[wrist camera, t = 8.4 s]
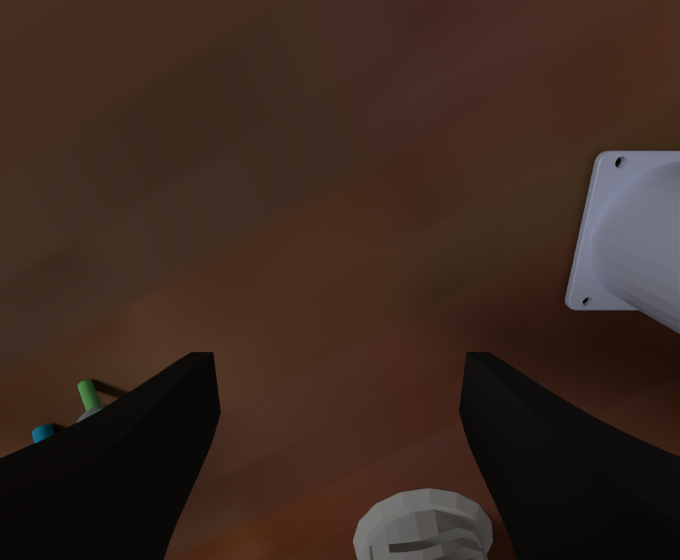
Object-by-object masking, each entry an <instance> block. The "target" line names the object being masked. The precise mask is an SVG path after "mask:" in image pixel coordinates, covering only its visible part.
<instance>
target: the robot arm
mask: <svg viewBox="0 0 680 560" xmlns="http://www.w3.org/2000/svg"><path fill="white" fill-rule="evenodd" d="M619 157H620V159H621V163H620V165H619V166H618V167H616V166H615V162H616V160H617V159H618V158H619ZM587 297H588V300H587V302H585V303H583V300H584V299H585V298H587ZM565 304H566V305H567V306H568V307H569V308H571V309H572V310H639V311H641V312H643V313H645V314H646V315H648V316H650V317H652V318H653V319H655V320H657V321H658V322H660V323H662V324H664V325H665V326H667V327H669V328H671V329H672V330H674V331H676V332H678V333H679V334H680V151H604V152H602V153H601V154H599V155H598V156H597V158H596V160H595V163H594V167H593V172H592V177H591V181H590V186H589V191H588V195H587V200H586V204H585V209H584V214H583V218H582V223H581V228H580V232H579V237H578V241H577V246H576V251H575V255H574V260H573V264H572V269H571V274H570V278H569V283H568V288H567V292H566V297H565ZM220 413H221V410H220V402H219V394H218V386H217V378H216V370H215V362H214V354H213V352H191V353H189V354H188V355H186V356H184V357H183V358H181V359H179V360H178V361H176V362H175V363H173V364H172V365H170V366H169V367H167V368H166V369H164V370H163V371H161V372H160V373H158V374H157V375H155V376H154V377H152V378H151V379H149V380H148V381H146V382H145V383H143V384H142V385H140V386H139V387H137V388H135V389H134V390H132V391H131V392H129V393H127V394H126V395H124V396H122V397H121V398H119V399H117V400H116V401H114V402H112V403H111V404H109V405H108V406H106V407H104V408H103V409H101V410H99V411H97V412H96V413H94V414H92V415H90V416H89V417H87V418H85V419H83V420H81V421H79V422H77V423H75V424H73V425H72V426H70V427H68V428H66V429H64V430H62V431H60V432H58V433H56V434H54V435H52V436H50V437H47V438H45V439H43V440H41V441H39V442H36V443H34V444H32V445H29V446H27V447H25V448H23V449H20V450H18V451H16V452H14V453H11V454H9V455H7V456H4V457H2V458H0V560H164V557H165V554H166V551H167V548H168V545H169V542H170V539H171V537H172V534H173V532H174V529H175V527H176V524H177V522H178V519H179V517H180V515H181V513H182V510H183V508H184V506H185V504H186V501H187V499H188V497H189V495H190V492H191V490H192V488H193V485H194V483H195V481H196V479H197V476H198V474H199V472H200V470H201V467H202V465H203V463H204V460H205V458H206V456H207V454H208V451H209V449H210V446H211V444H212V441H213V437H214V434H215V431H216V427H217V424H218V420H219V416H220ZM459 413H460V417H461V420H462V424H463V428H464V431H465V434H466V437H467V441H468V444H469V446H470V449H471V451H472V453H473V455H474V458H475V460H476V462H477V464H478V467H479V469H480V471H481V473H482V476H483V478H484V480H485V482H486V485H487V487H488V489H489V491H490V493H491V496H492V498H493V500H494V502H495V504H496V507H497V509H498V511H499V513H500V516H501V518H502V520H503V522H504V525H505V527H506V530H507V532H508V535H509V537H510V540H511V542H512V545H513V548H514V551H515V554H516V557H517V560H680V457H679V456H677V455H674V454H672V453H669V452H667V451H665V450H662V449H660V448H658V447H655V446H653V445H651V444H648V443H646V442H644V441H642V440H640V439H637V438H635V437H633V436H631V435H629V434H627V433H625V432H623V431H621V430H619V429H617V428H615V427H613V426H611V425H609V424H607V423H605V422H603V421H601V420H599V419H597V418H595V417H593V416H592V415H590V414H588V413H586V412H584V411H583V410H581V409H579V408H577V407H576V406H574V405H572V404H570V403H569V402H567V401H565V400H564V399H562V398H560V397H559V396H557V395H555V394H554V393H552V392H551V391H549V390H547V389H546V388H544V387H543V386H541V385H539V384H538V383H536V382H535V381H533V380H532V379H530V378H529V377H527V376H526V375H524V374H523V373H521V372H520V371H518V370H517V369H515V368H513V367H512V366H510V365H509V364H507V363H506V362H504V361H503V360H501V359H499V358H498V357H496V356H494V355H493V354H491V353H489V352H467V354H466V362H465V369H464V377H463V385H462V393H461V400H460V408H459Z"/></svg>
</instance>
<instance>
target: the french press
mask: <svg viewBox="0 0 680 560" xmlns="http://www.w3.org/2000/svg"><path fill="white" fill-rule="evenodd" d="M353 543H354V547H355V551H356V555H357V559H358V560H488V558H487V553H488V551H489V549H490V547H491V545H492V543H493V534H492V522H491V521H490V519H489V518H488V516H487V515H486V514H485V512H484V511H483V509H482V508H481V507H480V505H479V504H477V503H475V502H473V501H472V500H470V499H468V498H466V497H464V496H462V495H461V494H459V493H456V492H450V491H444V490H437V489H431V488H427V489H420V490H413V491H406V492H400V493H398V494H396V495H394V496H392V497H390V498H387V499H385V500H383V501H381V502H379V503H377V504H375V505H374V506H373V507H372V508H371V509H370V511H369V512H368V513H367V514H366V515H365V516H364V517H363V518H362V519H361V520H360V521H359V523H358V526H357V530H356V533H355V536H354V539H353Z"/></svg>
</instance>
